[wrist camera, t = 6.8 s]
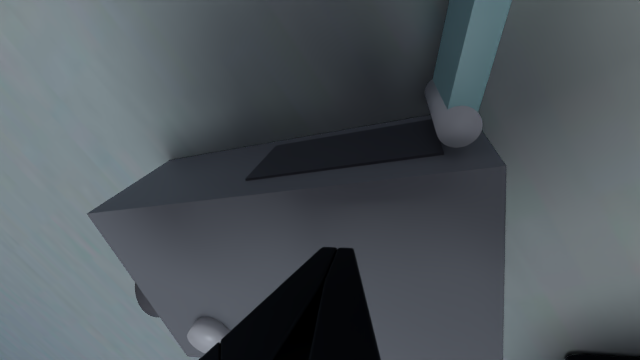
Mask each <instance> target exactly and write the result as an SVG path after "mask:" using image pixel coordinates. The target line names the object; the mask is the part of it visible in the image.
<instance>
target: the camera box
mask: <svg viewBox="0 0 640 360" xmlns="http://www.w3.org/2000/svg"><path fill="white" fill-rule="evenodd" d="M505 214H506V165H505V163H504V162H503V160H502V159H501V157H500V156H499V154H498V153H497V152H496V150H495V149H494V147H493V146H492V144H491V143H490V141H489V140H488V139H487V137H486V136H485V134H484V133H483V131H481V133H480V135H479V136H478V138H477V139H476V140H475V141H474V142H472V143H471V144H469V145H467V146H464V147H459V148H453V147H449V146H446V145H444V144H443V143H442V142H441V141H440V140H439V139H438V137H437V134H436V130H435V127H434V124H433V120H432V117H431V115H427V116H421V117H415V118H410V119H404V120H398V121H392V122H387V123H381V124H375V125H369V126H364V127H358V128H352V129H346V130H341V131H335V132H329V133H323V134H318V135H312V136H306V137H300V138H295V139H289V140H283V141H277V142H272V143H266V144H260V145H254V146H249V147H243V148H237V149H231V150H226V151H220V152H214V153H208V154H203V155H197V156H191V157H185V158H180V159H174V160H169V161H168V162H166V163H165V164H163V165H162V166H160V167H158V168H157V169H155V170H154V171H152V172H151V173H149V174H148V175H146V176H144V177H143V178H141V179H140V180H138V181H137V182H135V183H134V184H132V185H131V186H129V187H127V188H126V189H124V190H123V191H121V192H120V193H118V194H117V195H115V196H114V197H112V198H110V199H109V200H107V201H106V202H104V203H103V204H101V205H100V206H98V207H97V208H95V209H93V210H92V211H90V212H89V213H87V215H88V216H89V217H90V219H91V220H92V222H93V223H94V225H95V226H96V227H97V229H98V230H99V232H100V233H101V234H102V236H103V237H104V239H105V240H106V242H107V243H108V244H109V246H110V247H111V249H112V250H113V251H114V253H115V254H116V256H117V257H118V259H119V260H120V261H121V263H122V264H123V266H124V267H125V268H126V270H127V271H128V273H129V274H130V276H131V277H132V278H133V280H134V281H135V293H136V298H137V301H138V303H139V305H140V307H141V308H142V310H143V311H144V312H145V313H147V314H148V315H150V316H153V317H160V318H161V319H162V321H163V322H164V324H165V325H166V326H167V328H168V329H169V331H170V332H171V334H172V335H173V336H174V338H175V339H176V341H177V342H178V343H179V345H180V346H181V348H182V349H183V351H184V352H185V353H186V355H187V356H190V357H202V356H203V355H204V354H206V353H207V352H208V351H209V350H210V349H211V348H212V347H213V346H214V345H215V344H216V343H218V342H220V343H221V339H222V338H223V337H224V336H225V335H226V334H228V333H229V332H230V331H231V330H232V329H233V328H234V327H235V326H236V325H237V324H238V323H240V322H241V321H242V320H243V319H244V318H245V317H246V316H247V315H248V314H249V313H250V312H252V311H253V310H254V309H255V308H256V307H257V306H258V305H259V304H260V303H261V302H262V301H264V300H265V299H266V298H267V297H268V296H269V295H270V294H271V293H272V292H273V291H274V290H276V289H277V288H278V287H279V286H280V285H281V284H282V283H283V282H284V281H285V280H286V279H288V278H289V277H290V276H291V275H292V274H293V273H294V272H295V271H296V270H297V269H299V268H300V267H301V266H302V265H303V264H304V263H305V262H306V261H307V260H308V259H309V258H311V257H312V256H313V255H314V254H315V253H316V252H317V251H318V250H319V249H320V248H322V247H336V248H337V249H338V248H340V247H346V248H353V249H354V251H355V255H356V259H357V263H358V268H359V272H360V276H361V280H362V284H363V288H364V292H365V296H366V300H367V304H368V308H369V313H370V317H371V321H372V325H373V329H374V333H375V337H376V341H377V345H378V349H379V353H380V358H381V360H503V324H504V269H505Z"/></svg>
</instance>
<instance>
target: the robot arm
mask: <svg viewBox="0 0 640 360" xmlns="http://www.w3.org/2000/svg"><path fill="white" fill-rule="evenodd" d="M199 360H381V358H380V353H379V349H378V345H377V341H376V337H375V333H374V329H373V325H372V321H371V317H370V313H369V308H368V304H367V300H366V296H365V292H364V288H363V284H362V280H361V276H360V272H359V268H358V263H357V259H356V255H355V251H354V249H353V248H346V247H340V248H338V249H337V248H336V247H322V248H320V249H319V250H318V251H317V252H316V253H315V254H314V255H313V256H312V257H311V258H309V259H308V260H307V261H306V262H305V263H304V264H303V265H302V266H301V267H300V268H299V269H297V270H296V271H295V272H294V273H293V274H292V275H291V276H290V277H289V278H288V279H286V280H285V281H284V282H283V283H282V284H281V285H280V286H279V287H278V288H277V289H276V290H274V291H273V292H272V293H271V294H270V295H269V296H268V297H267V298H266V299H265V300H264V301H262V302H261V303H260V304H259V305H258V306H257V307H256V308H255V309H254V310H253V311H252V312H250V313H249V314H248V315H247V316H246V317H245V318H244V319H243V320H242V321H241V322H240V323H238V324H237V325H236V326H235V327H234V328H233V329H232V330H231V331H230V332H229V333H228V334H226V335H225V336H224V337H223V338H222V339H221V343H220V342H218V343H216V344H215V345H214V346H213V347H212V348H211V349H210V350H209V351H208V352H207V353H206V354H204V355H203V356H202V357H201V358H200V359H199ZM566 360H640V358H629V357H612V356H594V355H570V356H568V357H567V358H566Z"/></svg>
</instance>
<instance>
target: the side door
mask: <svg viewBox="0 0 640 360" xmlns="http://www.w3.org/2000/svg"><path fill="white" fill-rule="evenodd" d="M511 2H512V0H449V5H448V10H447V14H446V19H445V24H444V28H443V33H442V38H441V42H440V47H439V52H438V56H437V61H436V66H435V70H434V75H433V79H432V80H430V81H429V82H428V84H427V86H426V88H425V97H426V101H427V104H428V107H429V110H430V114H431V117H432V120H433V124H434V127H435V130H436V134H437V137H438V139H439V140H440V141H441V142H442V143H443V144H444V145H446V146H449V147H453V148H459V147H464V146H467V145H469V144H471V143H472V142H474V141H475V140H476V139H477V138H478V136H479V135H480V133H481V131H482V126H483V122H482V118H481V116H480V115H479V113H478V111H479V108H480V105H481V101H482V98H483V95H484V91H485V88H486V85H487V81H488V78H489V75H490V71H491V68H492V65H493V62H494V58H495V55H496V52H497V48H498V45H499V42H500V38H501V35H502V32H503V29H504V25H505V22H506V19H507V15H508V12H509V9H510V5H511Z"/></svg>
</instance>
